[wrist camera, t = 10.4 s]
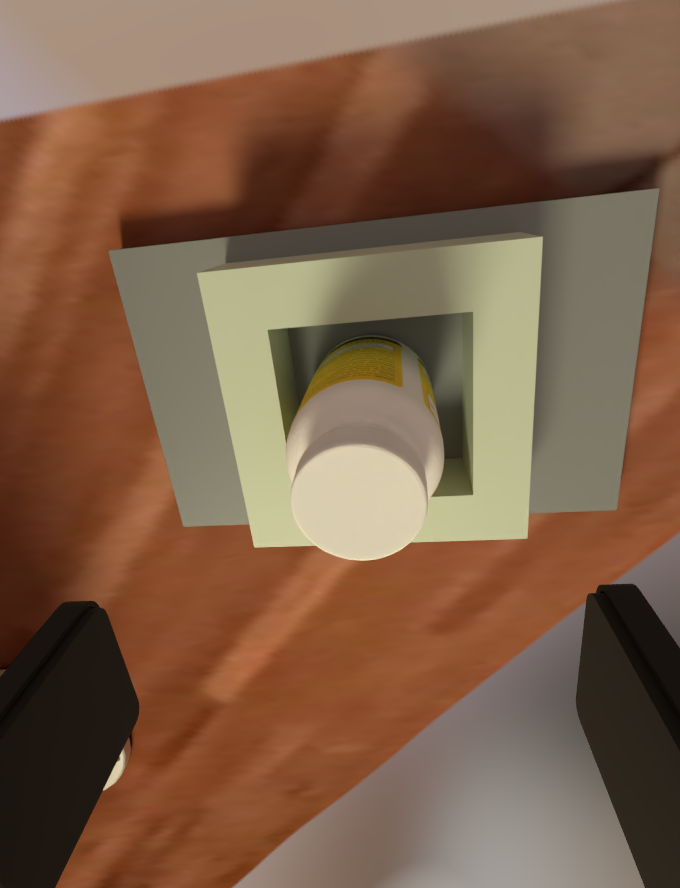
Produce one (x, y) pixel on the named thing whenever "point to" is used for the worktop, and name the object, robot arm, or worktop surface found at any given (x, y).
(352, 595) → the worktop surface
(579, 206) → the socket board
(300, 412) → the supplement bottle
